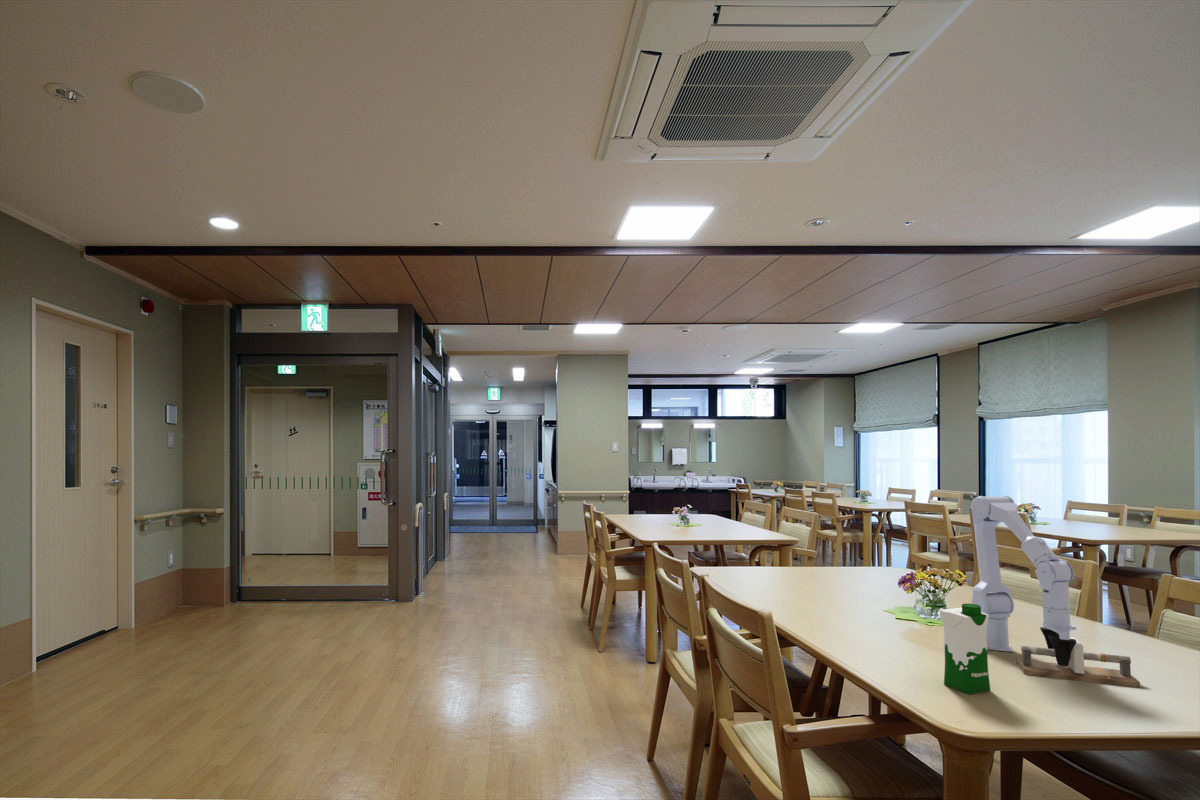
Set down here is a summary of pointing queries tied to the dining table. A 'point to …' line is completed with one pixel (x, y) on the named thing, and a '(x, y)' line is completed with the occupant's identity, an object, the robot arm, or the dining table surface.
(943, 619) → the milk carton
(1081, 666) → the collar
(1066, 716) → the dining table surface
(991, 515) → the robot arm
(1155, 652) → the dining table surface
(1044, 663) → the slider rail
